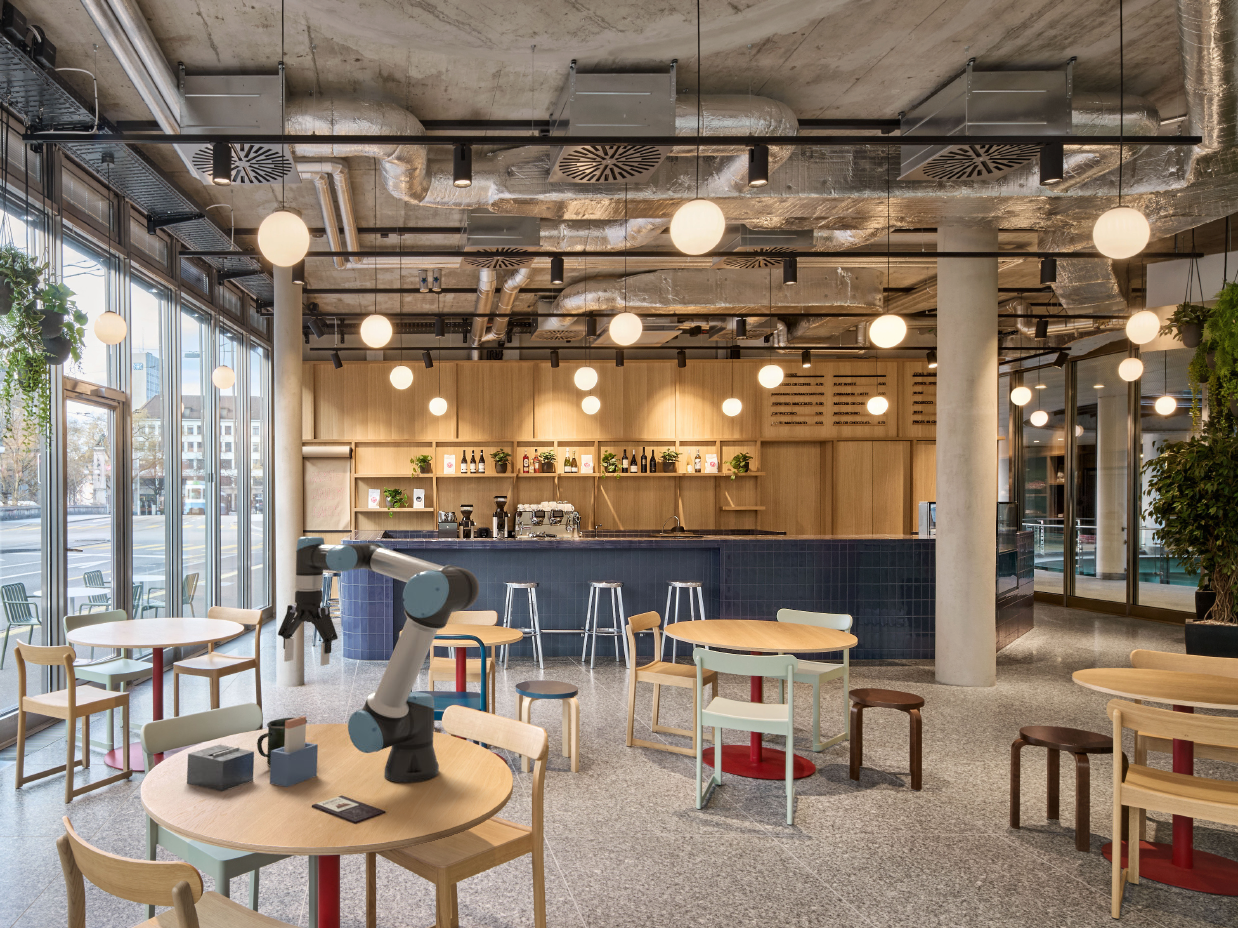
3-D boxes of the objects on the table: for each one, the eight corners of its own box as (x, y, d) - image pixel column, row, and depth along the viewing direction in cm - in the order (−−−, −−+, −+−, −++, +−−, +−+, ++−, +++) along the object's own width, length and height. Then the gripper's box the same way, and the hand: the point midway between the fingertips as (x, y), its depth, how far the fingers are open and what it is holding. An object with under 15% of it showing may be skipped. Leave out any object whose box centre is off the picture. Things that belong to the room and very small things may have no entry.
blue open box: (316, 775, 235) (317, 744, 235) (286, 786, 225) (288, 754, 226) (299, 772, 238) (300, 741, 238) (269, 783, 228) (270, 750, 228)
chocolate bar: (355, 821, 200) (311, 804, 211) (355, 825, 200) (311, 808, 211) (385, 810, 207) (342, 795, 218) (385, 814, 207) (341, 798, 218)
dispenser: (253, 780, 230) (254, 748, 230) (221, 791, 221) (223, 758, 221) (218, 772, 236) (219, 741, 236) (186, 783, 227) (188, 750, 228)
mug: (313, 761, 247) (314, 721, 248) (267, 774, 236) (268, 731, 236) (292, 754, 254) (294, 715, 254) (247, 766, 242) (248, 724, 243)
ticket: (304, 773, 234) (306, 716, 235) (287, 779, 228) (289, 721, 229) (300, 772, 234) (302, 715, 235) (283, 779, 229) (285, 720, 230)
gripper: (351, 590, 240) (349, 664, 239) (286, 586, 250) (283, 656, 249) (333, 592, 234) (331, 668, 233) (266, 588, 243) (264, 661, 242)
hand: (306, 662), depth 241 cm, fingers open, 13 cm apart
